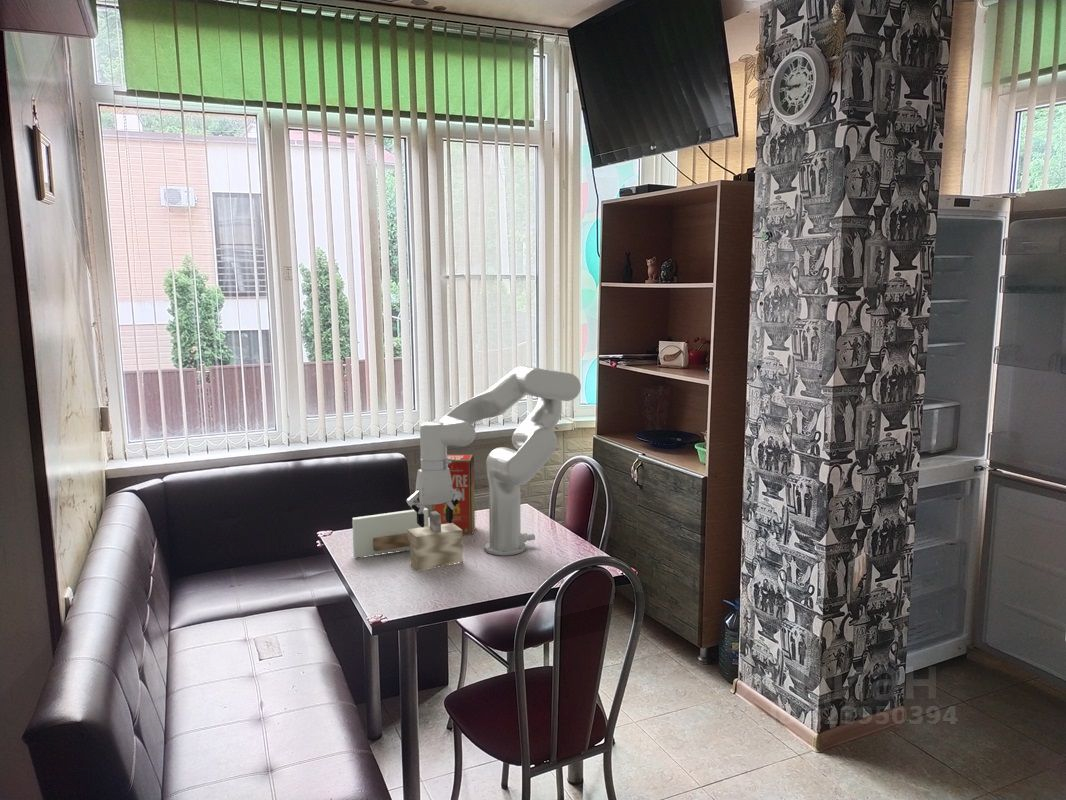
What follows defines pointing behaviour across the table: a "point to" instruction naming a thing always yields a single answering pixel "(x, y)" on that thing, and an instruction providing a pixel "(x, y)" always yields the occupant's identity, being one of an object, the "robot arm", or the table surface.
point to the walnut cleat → (390, 542)
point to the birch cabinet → (435, 544)
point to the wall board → (382, 530)
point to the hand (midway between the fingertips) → (435, 523)
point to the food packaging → (464, 484)
